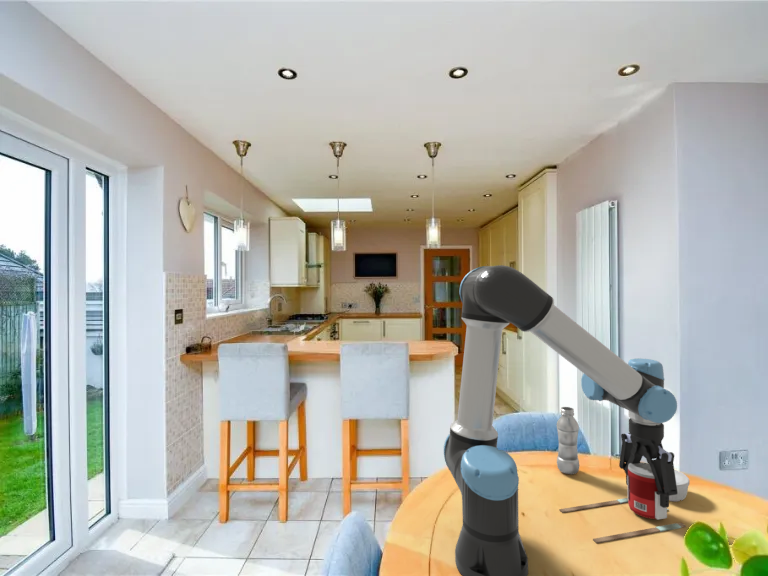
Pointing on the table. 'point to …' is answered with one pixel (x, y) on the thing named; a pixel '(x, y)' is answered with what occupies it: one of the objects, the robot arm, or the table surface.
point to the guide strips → (623, 535)
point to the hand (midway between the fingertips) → (646, 508)
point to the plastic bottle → (567, 442)
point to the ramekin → (680, 486)
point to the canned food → (641, 490)
